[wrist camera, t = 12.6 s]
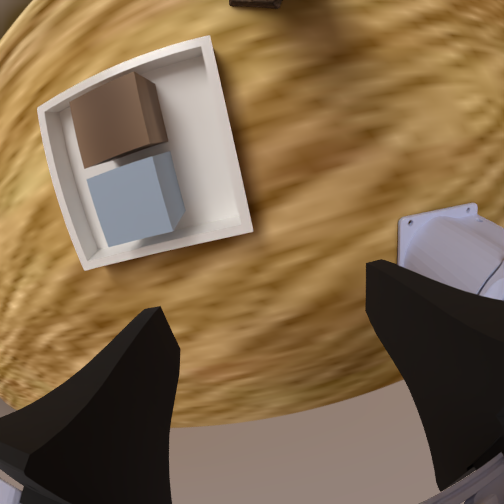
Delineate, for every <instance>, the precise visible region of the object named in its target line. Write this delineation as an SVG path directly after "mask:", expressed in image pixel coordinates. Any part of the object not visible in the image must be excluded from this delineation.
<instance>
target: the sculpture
mask: <svg viewBox="0 0 504 504" xmlns="http://www.w3.org/2000/svg"><path fill="white" fill-rule="evenodd" d="M281 1H282V0H229V5H230V6H246V7H264V8H275V9H278V8H280V5H281Z"/></svg>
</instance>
